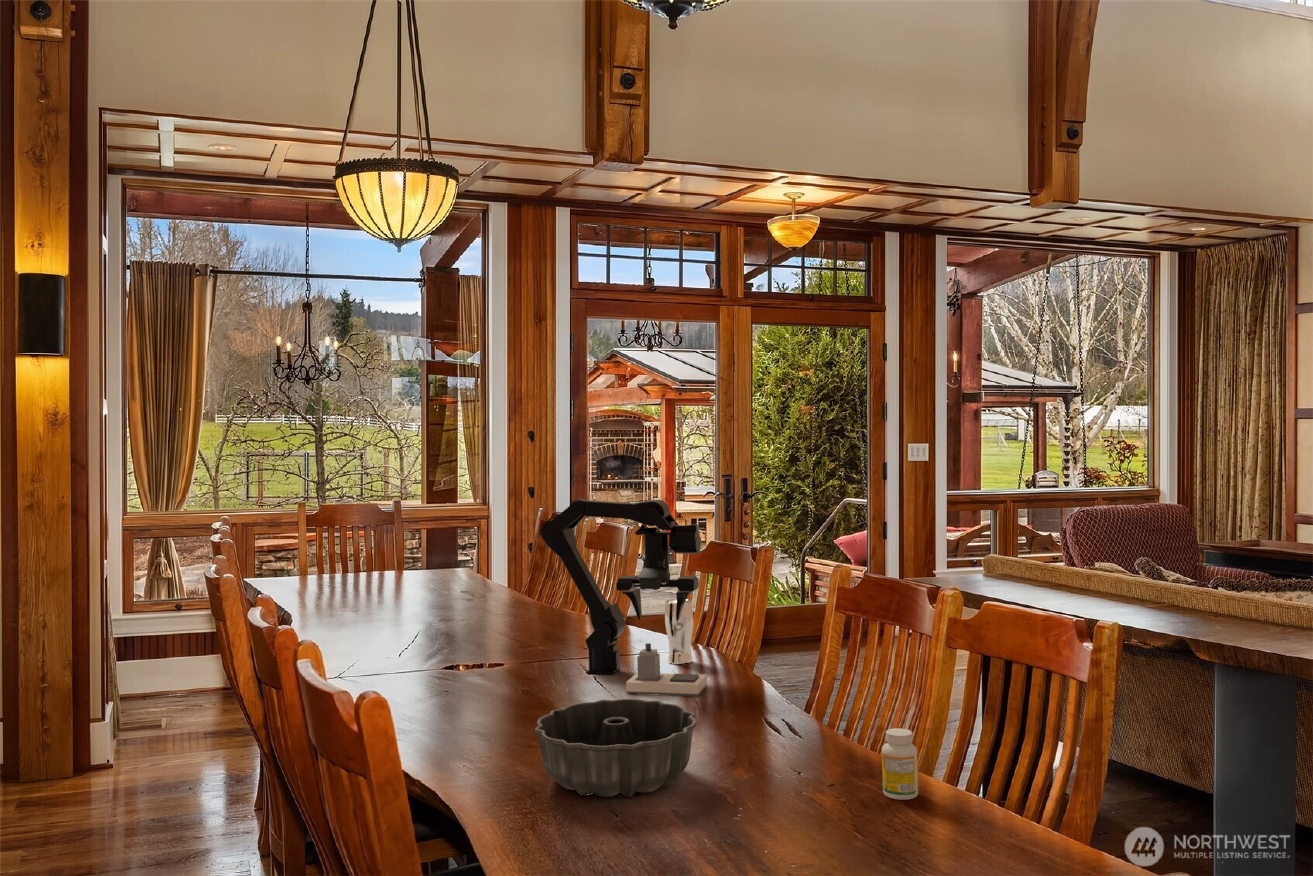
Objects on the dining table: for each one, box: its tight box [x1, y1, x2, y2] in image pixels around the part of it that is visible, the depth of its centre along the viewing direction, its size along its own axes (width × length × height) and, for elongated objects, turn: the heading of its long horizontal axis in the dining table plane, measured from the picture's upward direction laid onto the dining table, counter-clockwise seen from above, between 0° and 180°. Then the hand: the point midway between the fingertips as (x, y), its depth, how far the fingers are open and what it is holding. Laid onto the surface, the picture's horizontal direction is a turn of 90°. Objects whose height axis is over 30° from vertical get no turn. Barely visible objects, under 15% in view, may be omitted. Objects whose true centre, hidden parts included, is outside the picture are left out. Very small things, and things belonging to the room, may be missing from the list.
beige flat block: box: [625, 672, 708, 697], centre depth 226 cm, size 16×9×3 cm, turn 75°
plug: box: [636, 642, 661, 681], centre depth 227 cm, size 4×4×10 cm
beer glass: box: [664, 598, 694, 665], centre depth 253 cm, size 7×7×15 cm
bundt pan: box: [534, 698, 697, 798], centre depth 168 cm, size 26×26×10 cm
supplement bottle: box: [881, 727, 919, 801], centre depth 158 cm, size 5×5×10 cm
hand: (658, 620), depth 242 cm, fingers open, 9 cm apart
